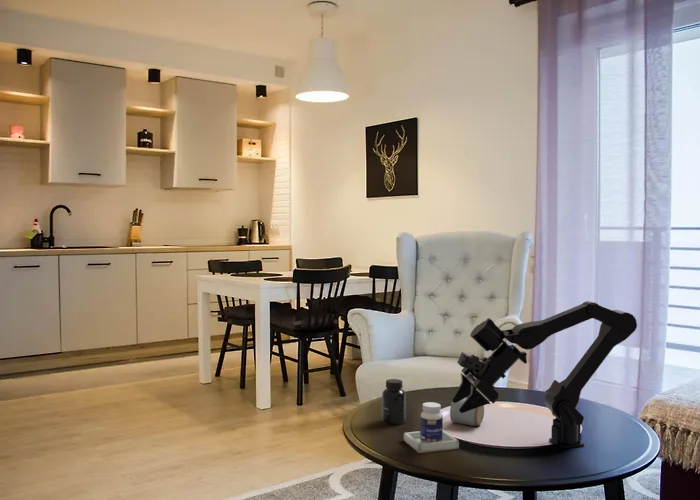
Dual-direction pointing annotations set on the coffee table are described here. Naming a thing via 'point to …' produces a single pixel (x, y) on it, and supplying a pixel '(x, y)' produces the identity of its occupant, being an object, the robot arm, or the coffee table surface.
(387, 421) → the supplement bottle
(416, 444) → the tray
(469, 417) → the ceramic mug
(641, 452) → the coffee table surface
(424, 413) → the pill bottle
